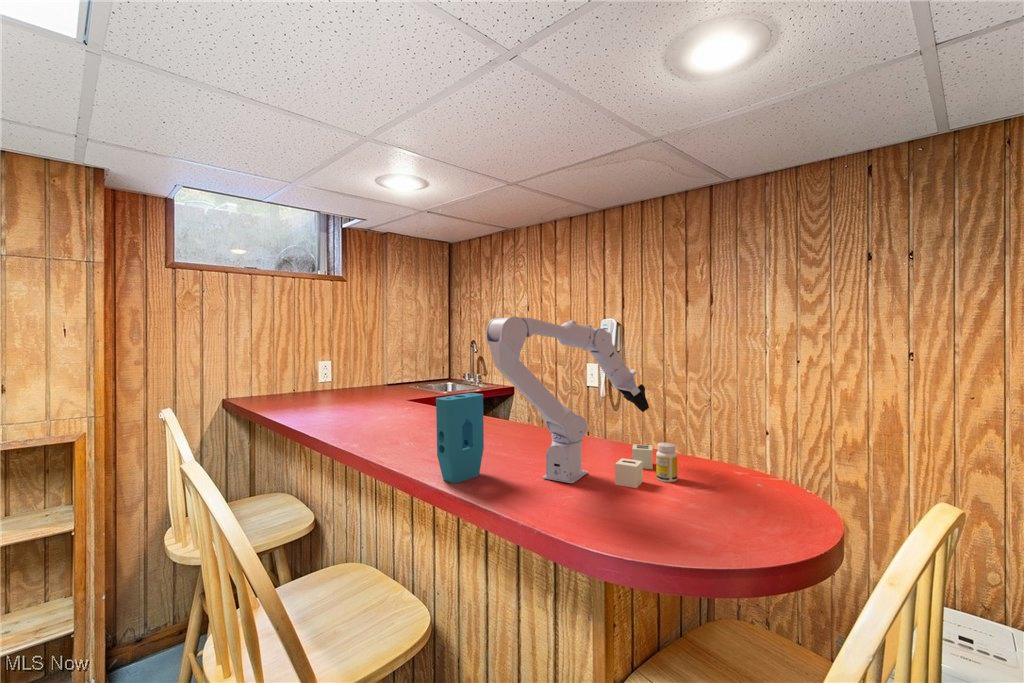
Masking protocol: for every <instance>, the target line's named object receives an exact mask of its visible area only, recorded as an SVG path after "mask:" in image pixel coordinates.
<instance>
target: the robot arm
mask: <svg viewBox="0 0 1024 683" xmlns="http://www.w3.org/2000/svg"><path fill="white" fill-rule="evenodd" d="M534 335H536V336H541V337H548V338H554V339H557V340H558V341H559V342H558V343H560V344H561V345H563V346H568V347H571V348H577V349H582V350H583V351H589V352H590V355H592V357H593V358H594V360H595V361H596V363H597V364H598V366H599V367H600V369H601V370H602V371H603V372H604V374H605V376H606V377H607V378H608V380H609V382H610V386H611V387H612V388H613V389H616V390H618V391H619V392H620V393H621V394H622V396H623V398H624V399H625V400H626V401H629V402H631V403H632V404H634V406H635V407H637V409H638V410H639V411H641V412H642V413H645V411H647V410H648V409H649V408H650V406H649V403H648V400H647V397H646V387H645V385H644V384H639V385H638V386H637V384H636V379H635V375H637V371H636V370H635V369H634V368H632V369H629V368H628V365H626V363H625V362H624V360H623V358H622V356H621V355H620V354H619V352H618V350H616V348H615V345H614V344H613V337H612V333H611V332H609V331H607V330H606V329H604V328H593V327H592V325H591V324H586V325H583V324H579V323H577V320H569V321H566V322H563V323H562V324H561V325H559V324H555V323H552V322H548V321H545V320H544V321H543V320H540V319H537V318H533V317H520V316H509V317H495V318H492V319H490V321H489V322H488V324H487V326H486V332H485V341H486V343H487V344H488V346H489V349H490V352H491V356H492V360H493V364H494V366H495V368H496V369H497V370H498V371H499V372H500V373H501V374H502V375H503V376H504V377H505V379H506V380H508V381H509V382H510V383H511V384H512V385H513V387H514V388H516V389H517V391H518V392H519V393H521V394H522V396H523V397H524V398H526V399H527V401H528V402H529V403H530V404H531V405H532V406H533V407H534V408H535V409H536V410H537V411H538V412H539V413H540V414H541V419H542V420H543V421H544V422H545V425H546V428H547V430H548V431H549V433H550V436H551V445H550V446H549V447H548V448H547V451H546V453H545V473H546V474H544V475H543V476H542V478H543V479H545V480H552V481H555V482H561V483H567V484H574V483H576V482H577V481H579V480H580V479H581V478H582V477H584V476H586V475H587V474H588V470H584V469H583V468H582V467H583V466H582V442H583V438H584V437H585V436H586V434H587V431H588V422H587V420H586V418H585V417H583V416H582V415H579V414H576V413H575V412H574V411H573V410H572V409H570V408H569V407H567V406H566V405H564V404H562V403H561V402H560V401H559V400H558V399H557V398H556V397H555V396H554V394H552V392H550V390H549V389H548V388H547V387H546V386H545V385H544V384H543V383H542V382H541V381H540V380H539V379H538V378H537V377H536V376H535V375H534V374H533V373H532V371H531V370H530V369H529V368H528V367H527V366H526V365H525V364H524V363H523V362H522V361H521V356H520V355H521V352H522V349H523V346H524V344H525V341H526V339H527V338H532V336H534Z"/></svg>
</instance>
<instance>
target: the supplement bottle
mask: <svg viewBox="0 0 1024 683" xmlns="http://www.w3.org/2000/svg"><path fill="white" fill-rule="evenodd" d="M655 459H656V460H655V462H656V463H655V464H656V466H655V468H656V470H655V471H656V473H655V474H656V479H657V480H658V481H660V482H664V483H674V482H676V481H678V454H677V452H676V444H674V443H672V442H659V443H657V451H656V454H655Z"/></svg>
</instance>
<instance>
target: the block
mask: <svg viewBox="0 0 1024 683" xmlns="http://www.w3.org/2000/svg"><path fill="white" fill-rule="evenodd" d="M435 405H436V406H435V411H436V412H435V413H436V414H435V415H436V416H435V418H436V421H435V422H436V457H437V459H438V460H437V461H438V464H439V468H440V473H441V476H442V480H443V481H445V482H448V483H451V484H458V483H461V482H464V481H468V480H471V479H473V478H474V479H475V478H476V477H479V476H480V472H481V466H482V461H483V455H484V450H485V445H484V444H485V443H484V442H485V440H484V435H485V434H484V394H483V393H476V392H468V393H461V394H454V395H449V396H442V397H436V398H435Z"/></svg>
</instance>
